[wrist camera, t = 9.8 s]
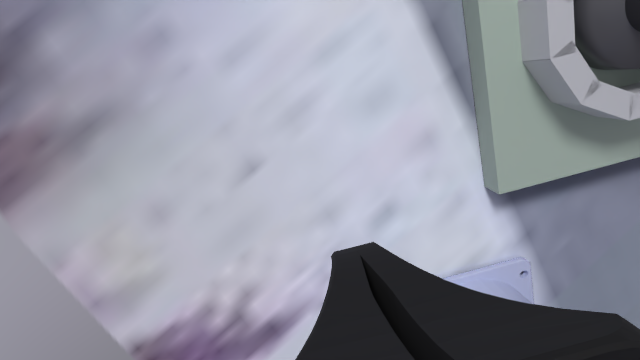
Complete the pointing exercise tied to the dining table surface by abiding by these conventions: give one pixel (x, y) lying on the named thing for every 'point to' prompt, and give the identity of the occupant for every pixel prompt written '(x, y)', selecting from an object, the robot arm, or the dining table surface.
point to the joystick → (608, 33)
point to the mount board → (544, 96)
